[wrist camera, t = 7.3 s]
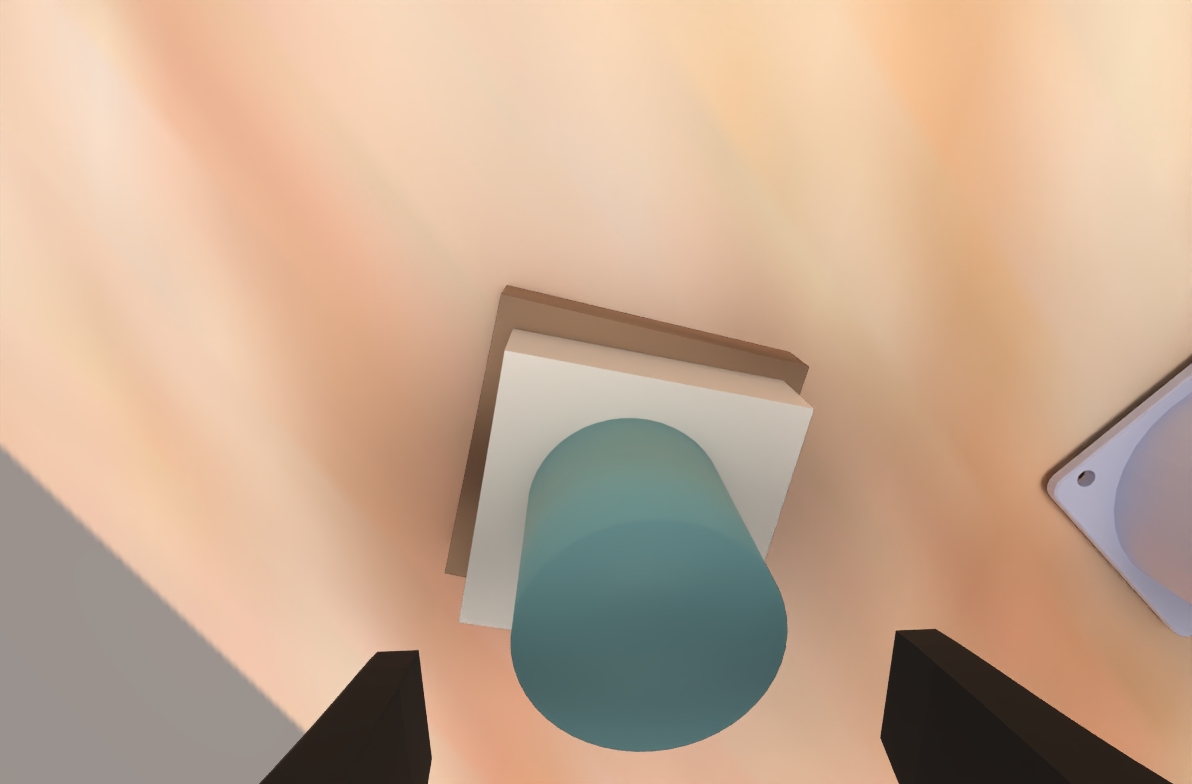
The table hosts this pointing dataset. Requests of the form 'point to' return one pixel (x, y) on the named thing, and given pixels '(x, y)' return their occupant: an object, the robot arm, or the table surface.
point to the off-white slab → (611, 391)
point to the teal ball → (641, 593)
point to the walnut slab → (603, 330)
